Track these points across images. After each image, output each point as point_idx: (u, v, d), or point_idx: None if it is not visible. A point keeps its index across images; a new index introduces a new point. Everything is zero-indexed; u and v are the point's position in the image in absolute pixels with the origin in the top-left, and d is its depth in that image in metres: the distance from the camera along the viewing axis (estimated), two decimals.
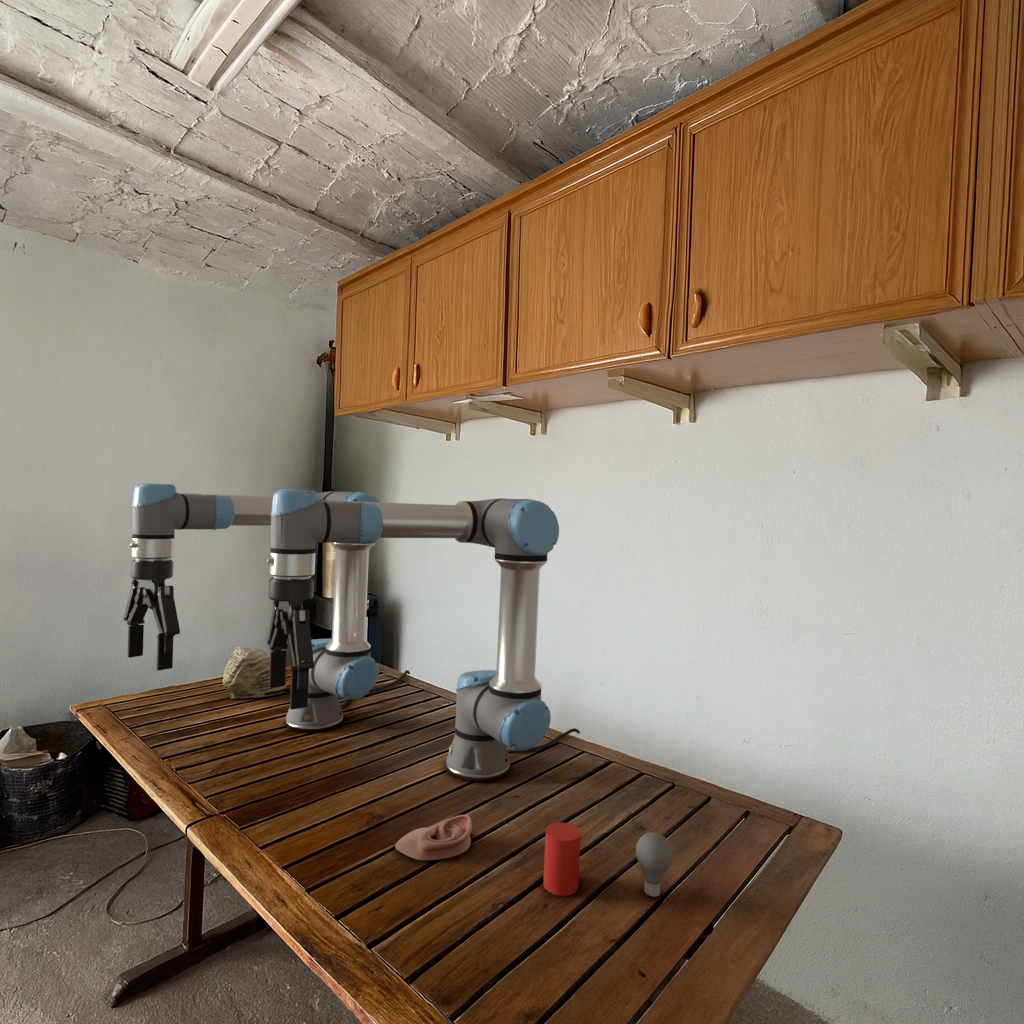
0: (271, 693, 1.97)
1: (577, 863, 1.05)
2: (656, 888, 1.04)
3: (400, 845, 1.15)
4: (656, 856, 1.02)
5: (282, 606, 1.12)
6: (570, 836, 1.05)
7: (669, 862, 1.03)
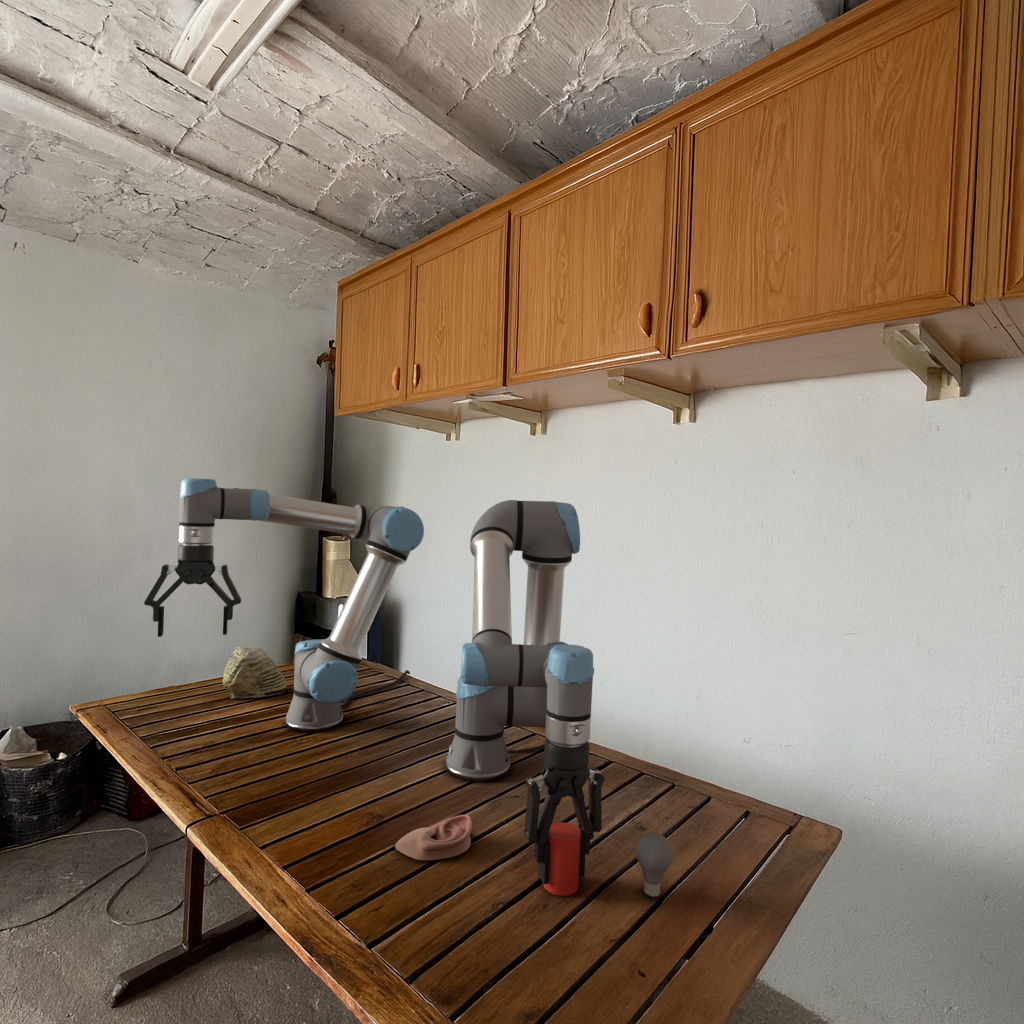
0: (271, 693, 1.97)
1: (577, 863, 1.05)
2: (656, 888, 1.04)
3: (400, 845, 1.15)
4: (656, 856, 1.02)
5: (562, 775, 1.05)
6: (570, 836, 1.05)
7: (669, 862, 1.03)
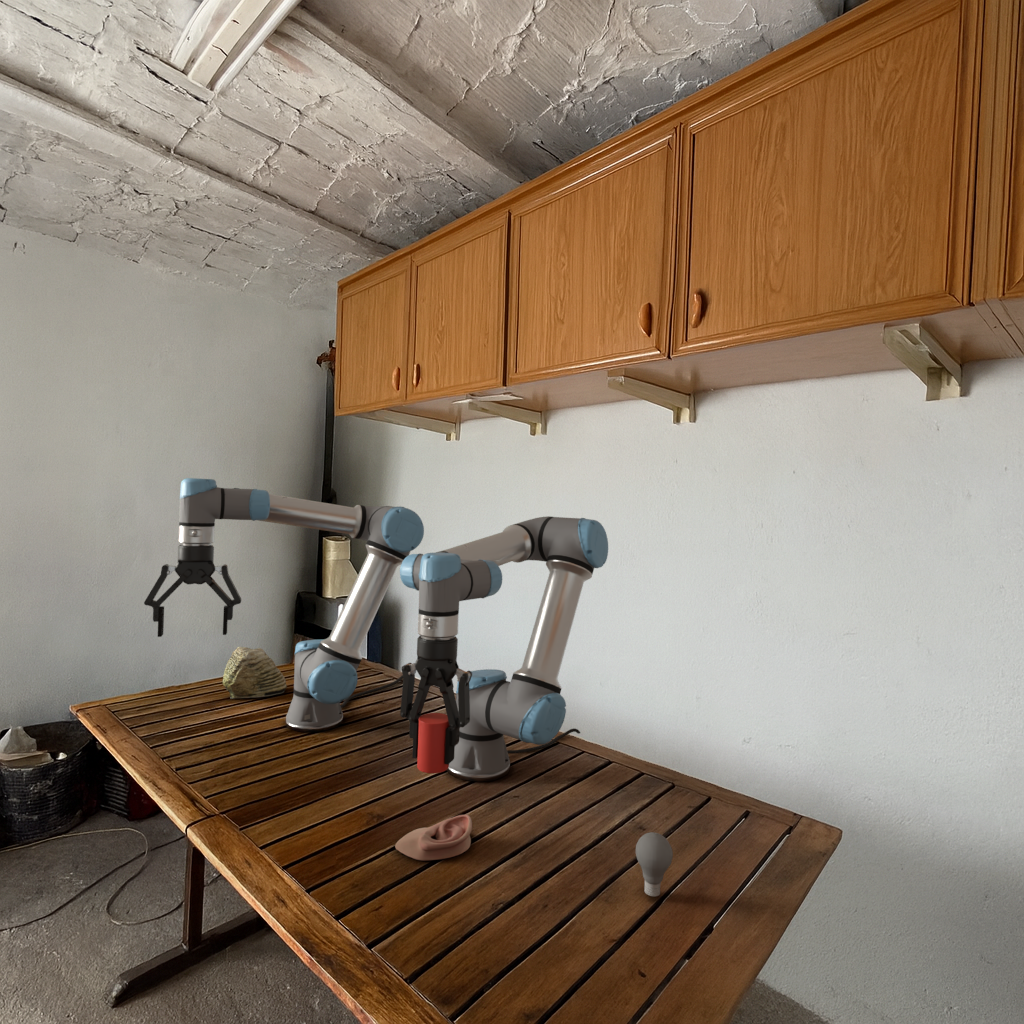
0: (271, 693, 1.97)
1: (437, 747, 1.16)
2: (656, 888, 1.04)
3: (400, 845, 1.15)
4: (656, 856, 1.02)
5: (428, 665, 1.18)
6: (432, 721, 1.17)
7: (669, 862, 1.03)
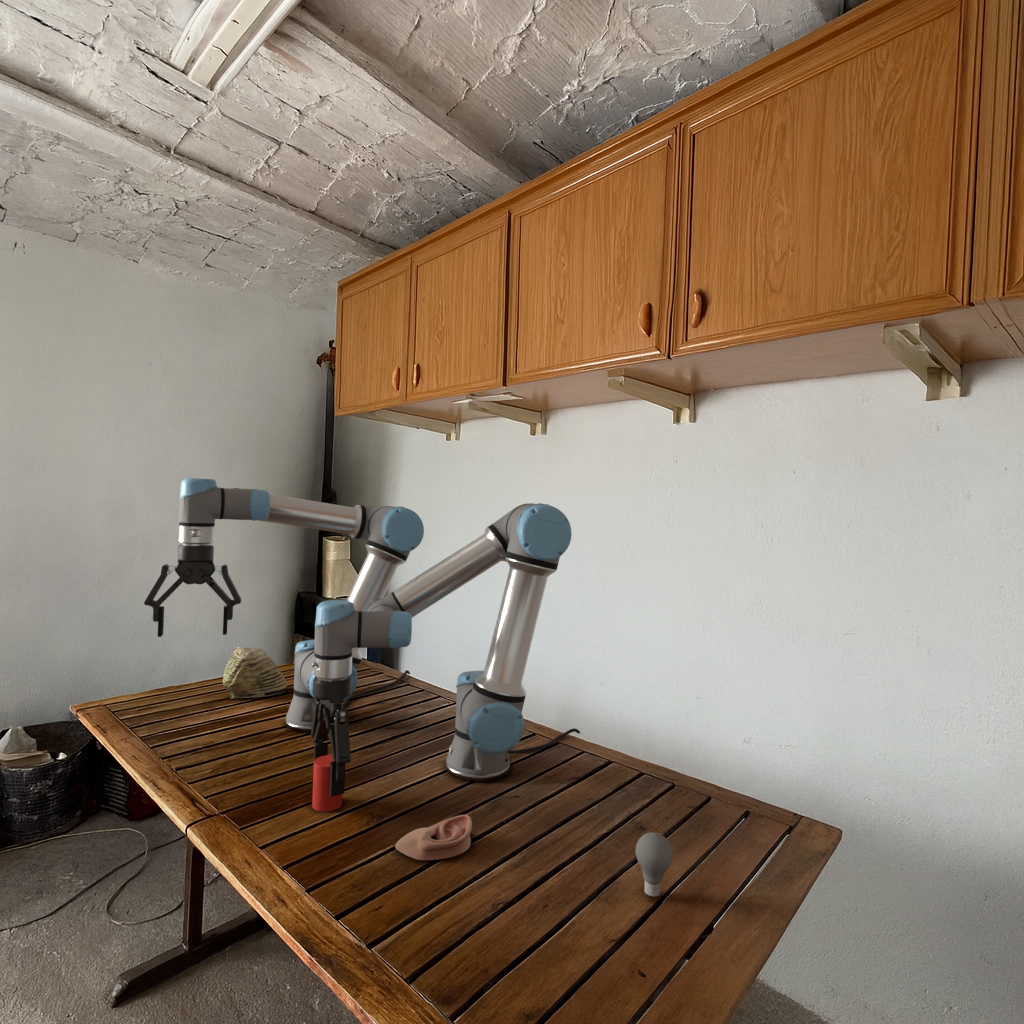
0: (271, 693, 1.97)
1: (319, 787, 1.28)
2: (656, 888, 1.04)
3: (400, 845, 1.15)
4: (656, 856, 1.02)
5: (324, 701, 1.31)
6: (320, 763, 1.29)
7: (669, 862, 1.03)
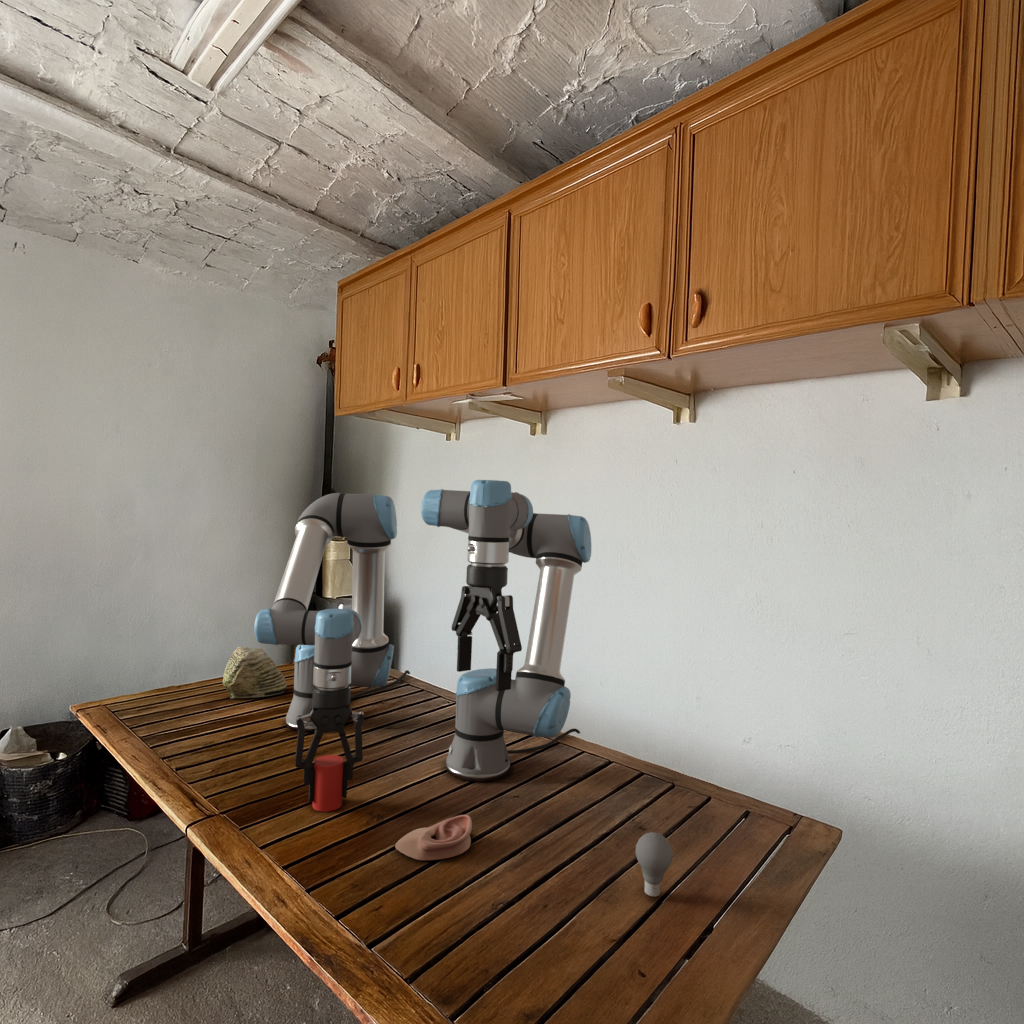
0: (271, 693, 1.97)
1: (319, 787, 1.28)
2: (656, 888, 1.04)
3: (400, 845, 1.15)
4: (656, 856, 1.02)
5: (477, 593, 1.16)
6: (321, 763, 1.29)
7: (669, 862, 1.03)
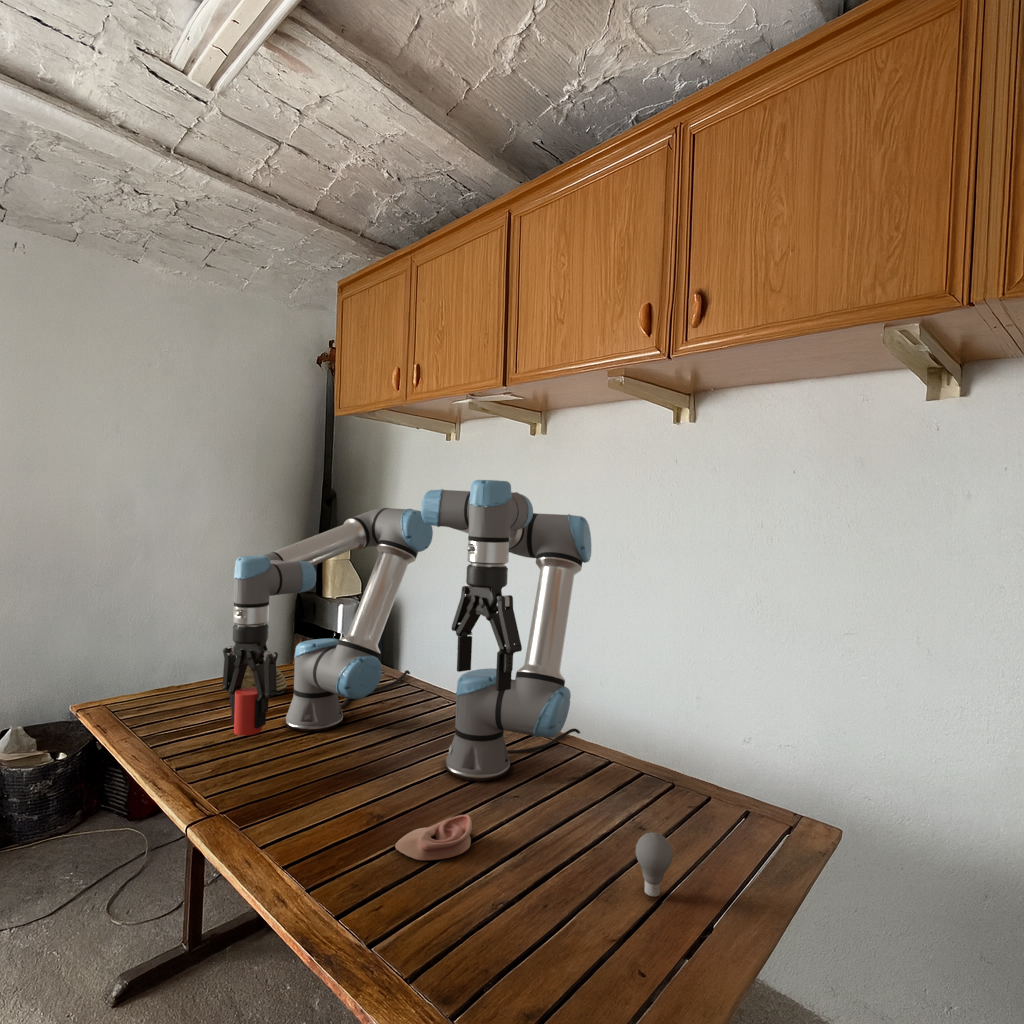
0: None
1: None
2: (656, 888, 1.04)
3: (400, 845, 1.15)
4: (656, 856, 1.02)
5: (477, 593, 1.16)
6: (240, 691, 1.45)
7: (669, 862, 1.03)
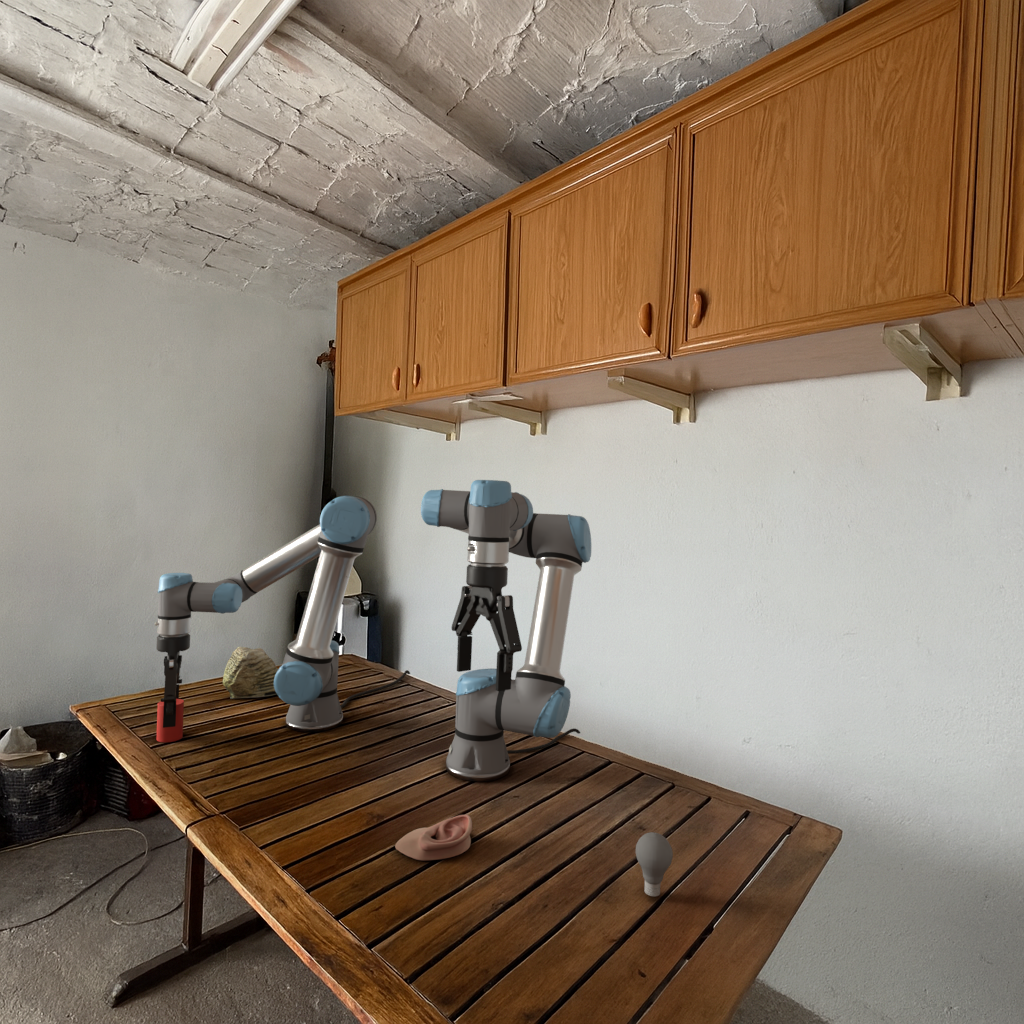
0: (271, 693, 1.97)
1: None
2: (656, 888, 1.04)
3: (400, 845, 1.15)
4: (656, 856, 1.02)
5: (477, 593, 1.16)
6: None
7: (669, 862, 1.03)
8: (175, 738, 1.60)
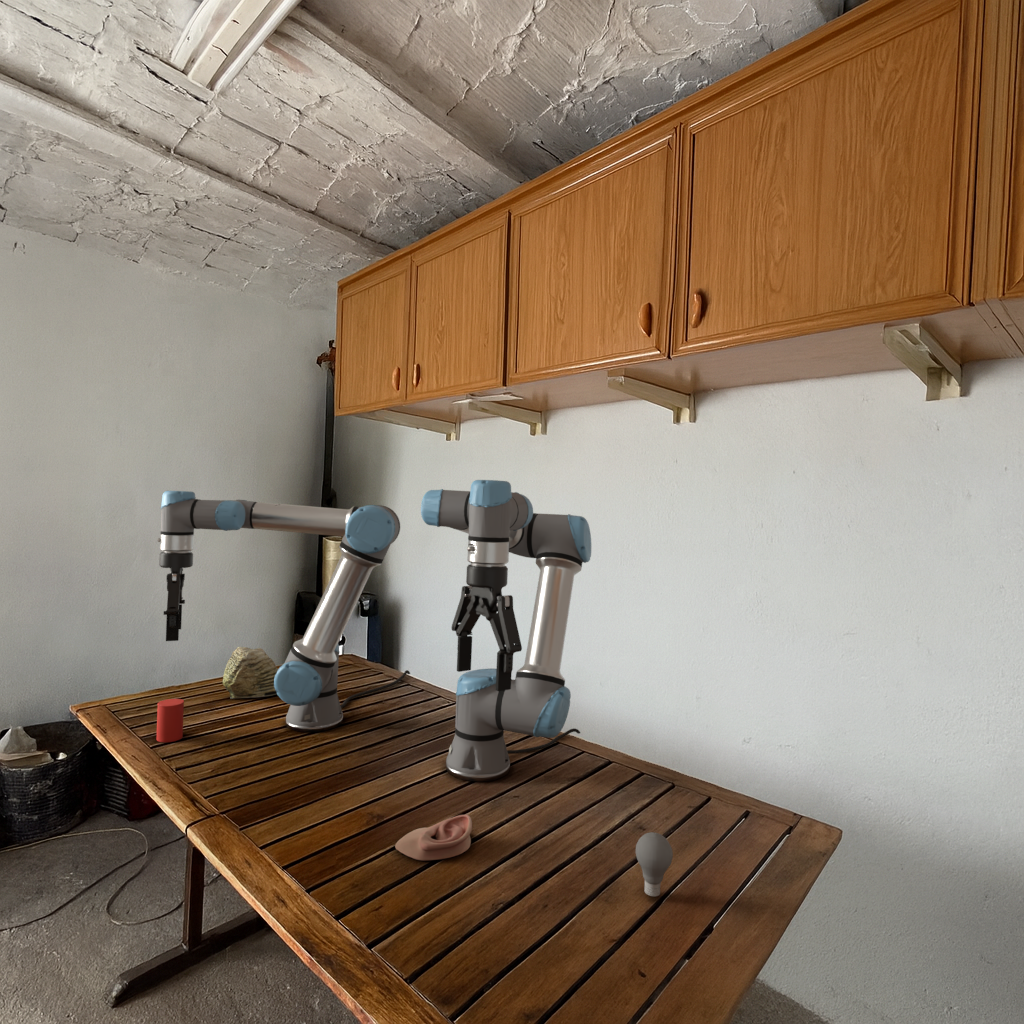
0: (271, 693, 1.97)
1: None
2: (656, 888, 1.04)
3: (400, 845, 1.15)
4: (656, 856, 1.02)
5: (477, 593, 1.16)
6: (167, 700, 1.62)
7: (669, 862, 1.03)
8: (175, 738, 1.60)
